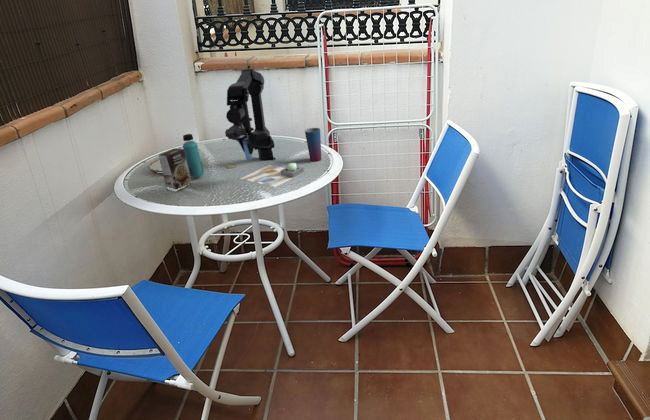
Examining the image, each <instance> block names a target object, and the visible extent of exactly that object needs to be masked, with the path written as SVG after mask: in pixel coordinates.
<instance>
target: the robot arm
mask: <svg viewBox="0 0 650 420" xmlns="http://www.w3.org/2000/svg"><path fill="white" fill-rule="evenodd" d="M264 85H265V78H264V75H262V73H260V72H258V71H256V70H255V69H253V68H245V69H244V68H243V69H242V70H241V72H240V75H239V77H238V79H237V80H236V82H235V83H232V84H230V85H229V86H228V88H227V90H226V106H229V109H228V111H226V116H225V117H226V120H227V121H228V122H229V123H230V124H233V125H231V126H230V127H229V128H227V129H226V130H225V132H224V134H225V137H227V139H228V140H233V141H236V142H238V145H240V147H241V149H242V151H243V152H244V154H245V151H244V145H243V141H242V140H243V139H245V138H247V139H246V140H244V141H245V142H246V143H247V146H248V150H249V153H250V154H252V155H253V153H254V151H257V153H258V158H259V160H260V161H262V162H263V161H264V162H265V161H275V160H276V157H275V156H274V154H273V150H272V149H273V148H274V149H275V143H274V142H275V141H274V139H273V138H272V135H271V133H270V131H269V129H268V128H267V127H266V124H265V123H266V122H265V114H264V106H263V99H262V94H263V91H264V89H265V87H264ZM249 97H250V99H251V100H250V101H251V107H252V115H253V118H252V117H250V114H249V107H248V102H249ZM251 121H254V127H252V125H251V124H252V123H251Z"/></svg>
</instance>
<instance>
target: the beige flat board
mask: <svg viewBox="0 0 650 420" xmlns="http://www.w3.org/2000/svg"><path fill="white" fill-rule="evenodd" d="M285 168H286V167H281V166H276V165H271V164H269V165H266V166H264V167H261V168H260V169H257V170H256V171H253V172H252V173H250V174H247V175H245V176H243V177H241V178H240V180H241V181H248V182H252V183H255V184H259V185H265V186H269V187H271V188H272V187H274V188H277V187H278V186H281V185H282V184H284V183H286V182H288V181H290V180H292V179H294V178H295V177H297V176H299V175H297V176H295V177H294V178H293V177H288V176H283V175H281V170H283V169H285Z"/></svg>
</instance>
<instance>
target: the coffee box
mask: <svg viewBox="0 0 650 420" xmlns="http://www.w3.org/2000/svg"><path fill="white" fill-rule="evenodd" d="M158 159H160V164H161V168H162V172H163V174H162V175H163V179H164V183H165V187H169V188H173V189H178V188H181V187H183V186H185V185H188V184H190V183H192V184H193V182H192V179H191V178H192V177H191V176H190V173H189V169H188V165H187V160H186V156H185V152H184V149H183V148H172V149H169V150H167V151H165V152H162V153H160V154H158ZM188 186H189V185H188Z"/></svg>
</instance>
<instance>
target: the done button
mask: <svg viewBox="0 0 650 420" xmlns="http://www.w3.org/2000/svg"><path fill="white" fill-rule="evenodd" d="M296 166H297V163H296V162H289V163H287V164H286V168H287V170H288V171H291V172H293V171H295V170H297V167H296Z"/></svg>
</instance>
